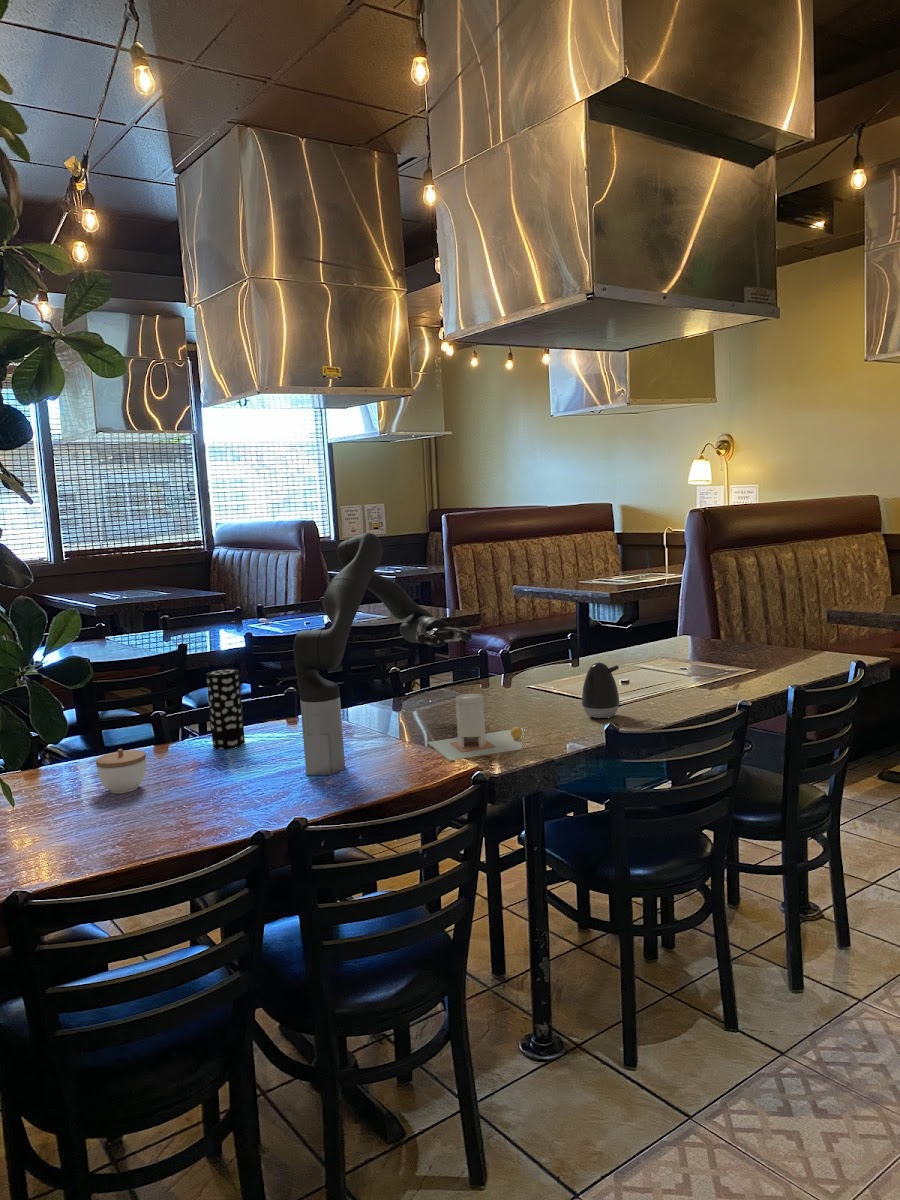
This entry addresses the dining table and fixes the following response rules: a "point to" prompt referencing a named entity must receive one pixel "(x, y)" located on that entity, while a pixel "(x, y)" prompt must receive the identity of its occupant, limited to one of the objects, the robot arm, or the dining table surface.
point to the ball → (516, 733)
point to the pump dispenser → (600, 692)
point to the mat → (477, 746)
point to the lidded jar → (122, 770)
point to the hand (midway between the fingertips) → (452, 638)
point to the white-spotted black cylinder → (225, 708)
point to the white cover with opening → (470, 719)
